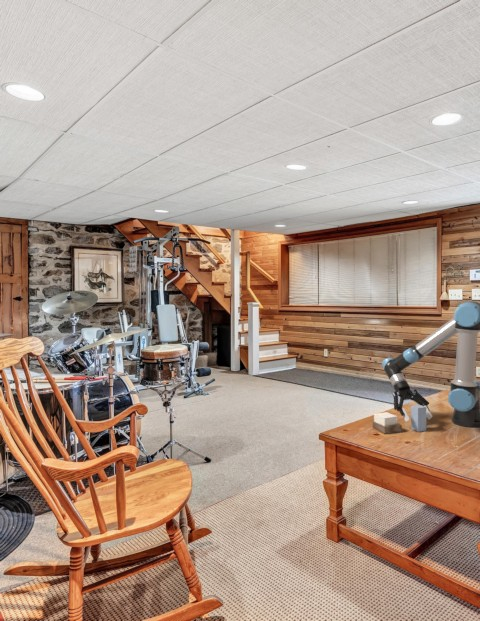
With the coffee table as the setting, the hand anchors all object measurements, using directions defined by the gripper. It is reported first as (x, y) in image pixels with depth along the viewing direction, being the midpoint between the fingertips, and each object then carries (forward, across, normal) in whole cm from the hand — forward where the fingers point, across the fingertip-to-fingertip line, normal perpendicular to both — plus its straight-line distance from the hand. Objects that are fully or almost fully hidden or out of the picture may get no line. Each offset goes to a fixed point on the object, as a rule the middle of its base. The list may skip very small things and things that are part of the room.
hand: (419, 419), depth 209 cm
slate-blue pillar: (+3, 0, -4) cm, 6 cm away
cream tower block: (-3, +15, -6) cm, 17 cm away
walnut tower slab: (0, +15, -8) cm, 17 cm away
